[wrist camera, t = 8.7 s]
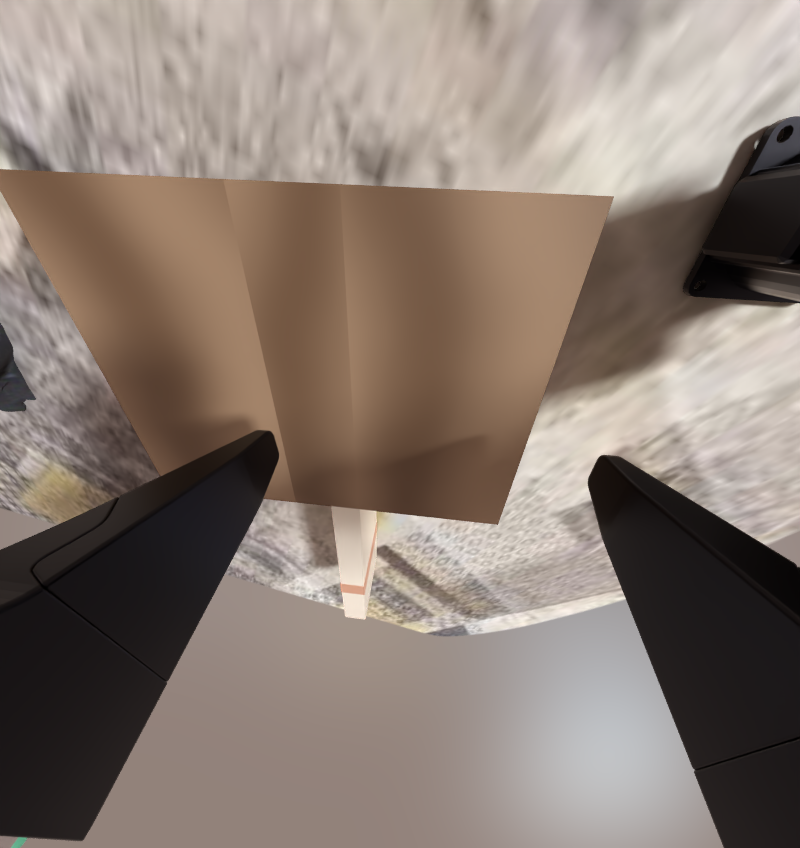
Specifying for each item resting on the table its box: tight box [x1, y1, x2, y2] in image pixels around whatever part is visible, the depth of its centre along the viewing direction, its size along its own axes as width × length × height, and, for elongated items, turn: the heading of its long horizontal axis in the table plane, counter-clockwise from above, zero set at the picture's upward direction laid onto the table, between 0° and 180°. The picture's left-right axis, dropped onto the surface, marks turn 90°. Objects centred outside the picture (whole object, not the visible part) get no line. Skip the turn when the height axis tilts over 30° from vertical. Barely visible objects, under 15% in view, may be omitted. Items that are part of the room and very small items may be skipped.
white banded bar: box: [331, 506, 377, 619], centre depth 25 cm, size 2×16×6 cm, turn 177°
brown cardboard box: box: [0, 169, 614, 525], centre depth 15 cm, size 16×13×9 cm
